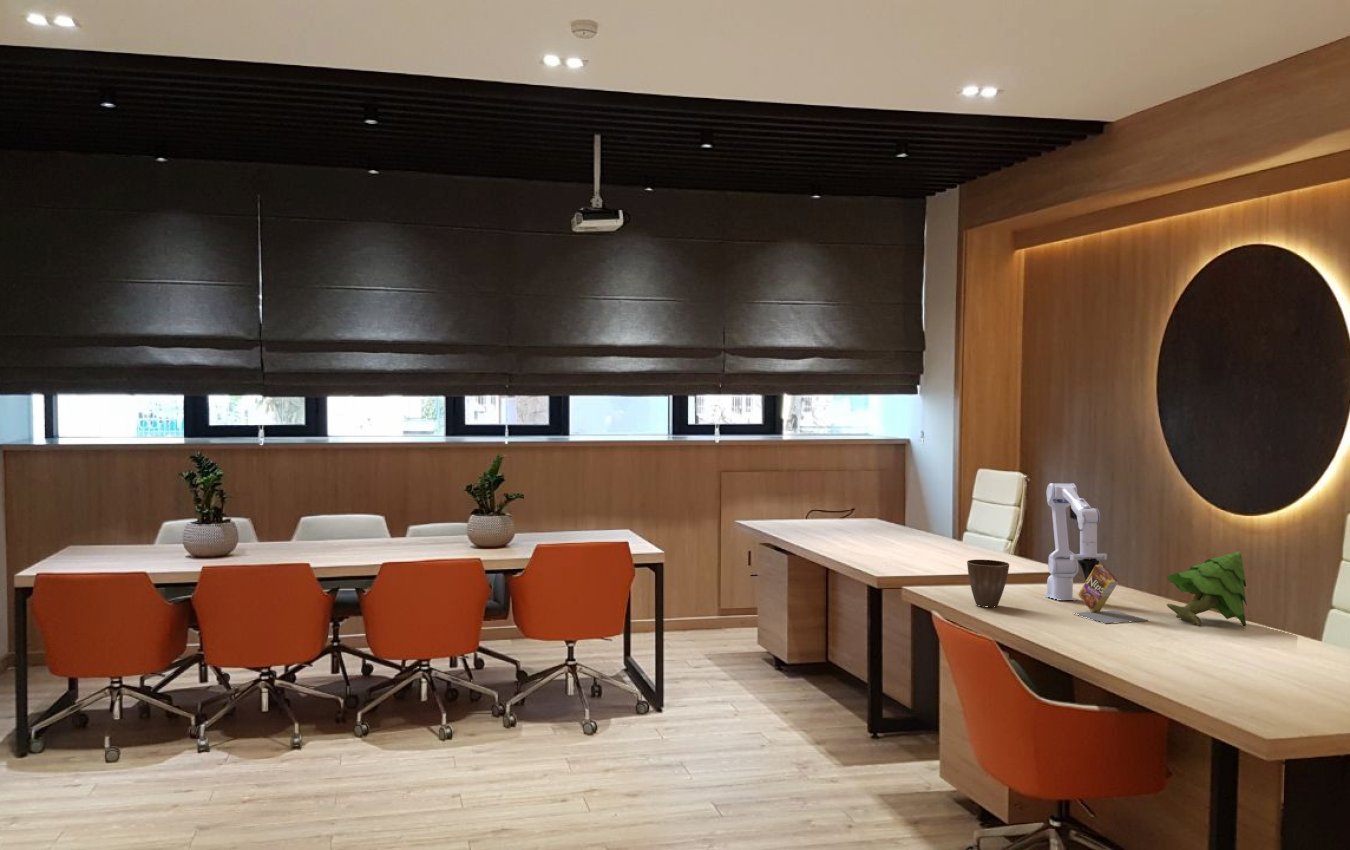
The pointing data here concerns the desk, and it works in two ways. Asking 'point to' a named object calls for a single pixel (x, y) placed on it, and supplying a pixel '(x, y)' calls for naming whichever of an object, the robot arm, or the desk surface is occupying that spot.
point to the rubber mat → (1110, 616)
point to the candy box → (1098, 588)
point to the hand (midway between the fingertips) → (1088, 580)
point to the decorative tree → (1213, 588)
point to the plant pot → (987, 580)
